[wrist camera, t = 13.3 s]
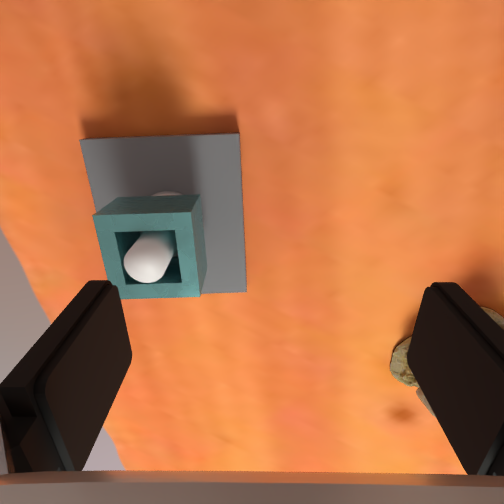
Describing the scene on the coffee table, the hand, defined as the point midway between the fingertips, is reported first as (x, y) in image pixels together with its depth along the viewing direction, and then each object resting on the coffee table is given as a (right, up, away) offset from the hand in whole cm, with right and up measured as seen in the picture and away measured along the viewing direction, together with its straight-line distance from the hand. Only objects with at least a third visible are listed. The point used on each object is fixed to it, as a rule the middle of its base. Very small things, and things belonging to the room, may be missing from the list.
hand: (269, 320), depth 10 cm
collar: (-8, +4, +19) cm, 21 cm away
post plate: (-8, +6, +23) cm, 25 cm away
